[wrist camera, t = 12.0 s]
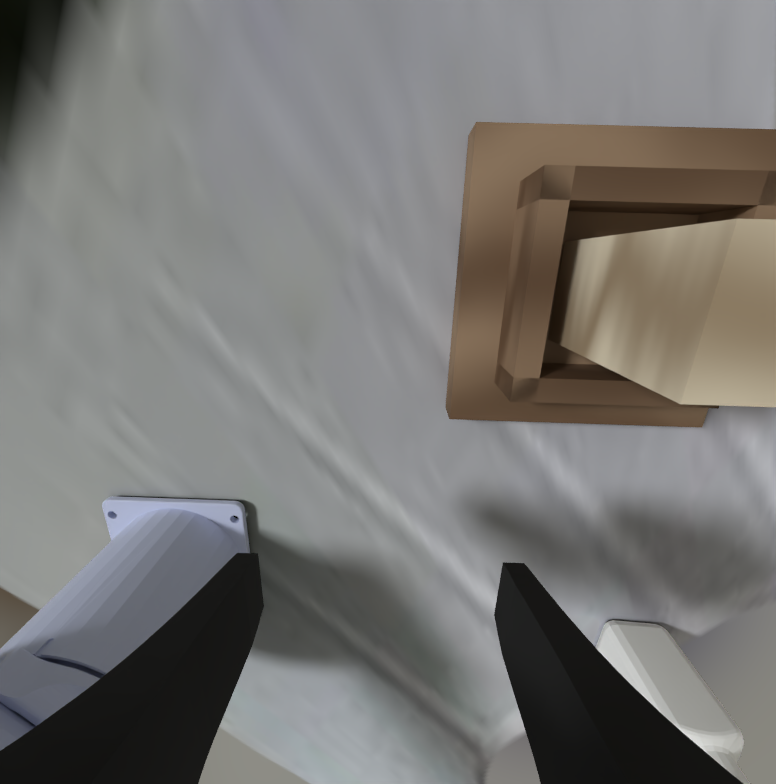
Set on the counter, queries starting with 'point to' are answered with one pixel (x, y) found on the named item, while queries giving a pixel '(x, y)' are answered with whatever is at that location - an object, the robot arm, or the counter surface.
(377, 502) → the counter surface
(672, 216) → the peg holder
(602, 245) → the birch peg
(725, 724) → the salt shaker
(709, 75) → the counter surface
